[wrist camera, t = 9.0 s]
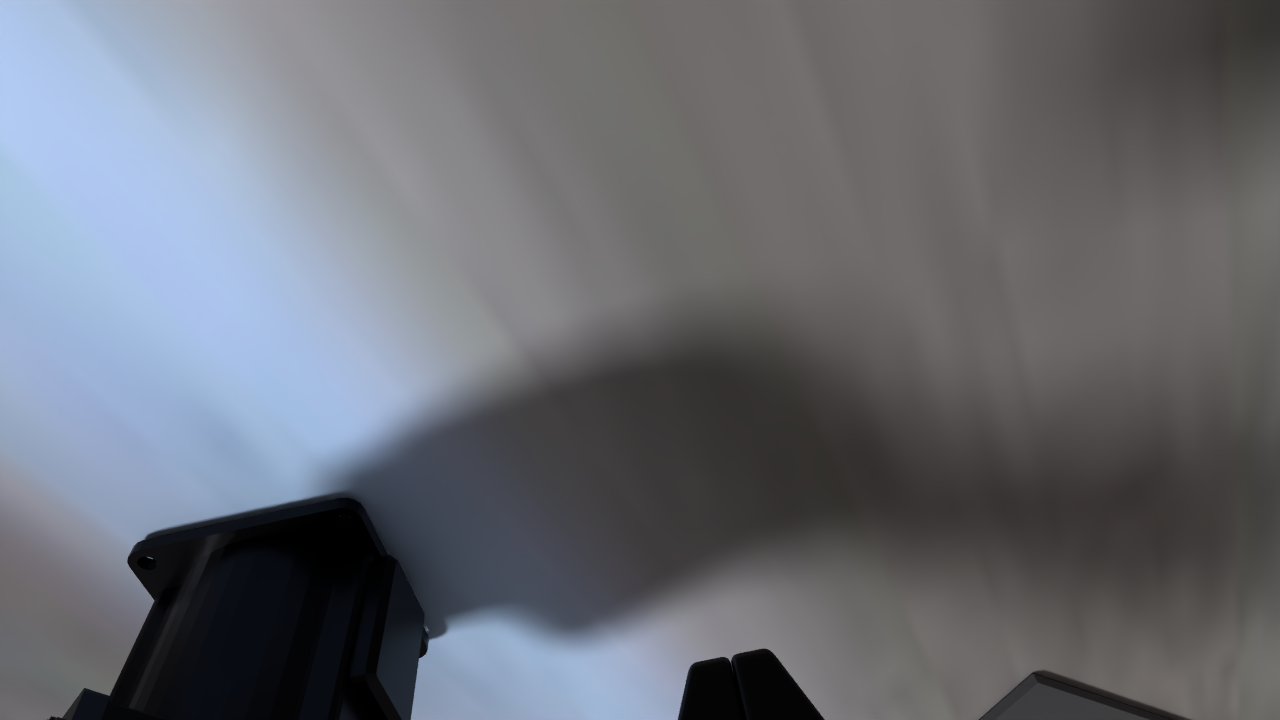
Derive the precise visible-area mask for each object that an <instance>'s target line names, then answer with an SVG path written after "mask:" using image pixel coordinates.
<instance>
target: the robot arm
mask: <svg viewBox="0 0 1280 720" xmlns="http://www.w3.org/2000/svg"><path fill="white" fill-rule="evenodd" d="M339 515H347V516H350V517H351V518H343V517H340V516H339ZM147 557H150V558H153V559H150V558H147ZM127 562H128V565H129V567H130V568H131V570H132V571H133V572H134V574H135V575H136V576H137V578H138V579H139V580H140V582H141V583H142V584H143V586H144V587H145V588H146V590H147V591H148V592H149V594H150V595H151V596H152V598H153V599H154V600H155V601H154V603H153V605H152V607H151V609H150V612H149V614H148V616H147V618H146V620H145V622H144V624H143V626H142V629H141V631H140V633H139V635H138V637H137V639H136V641H135V643H134V645H133V648H132V650H131V652H130V654H129V656H128V658H127V660H126V662H125V664H124V667H123V669H122V671H121V673H120V675H119V677H118V679H117V681H116V683H115V686H114V688H113V690H112V692H111V694H110V696H108V695H105V694H102V693H99V692H95V691H92V690H89V689H86V688H84V689H83V690H82V692H81V693H80V694H79V696H78V697H77V699H76V700H75V701H74V703H73V704H72V705H71V707H70V708H69V709H68V711H67V712H66V714H65V715H64V716H63V718H59V717H57V718H56V717H52V716H51V717H50V719H49V720H411V713H412V705H413V698H414V690H415V683H416V676H417V668H418V661H419V658H421V657H423V656H424V655H425V654H426V652H427V650H428V642H429V638H428V634H427V632H426V630H425V628H424V626H423V624H424V612H423V610H422V608H421V606H420V604H419V602H418V600H417V598H416V596H415V594H414V592H413V590H412V588H411V586H410V584H409V582H408V580H407V578H406V576H405V574H404V572H403V570H402V568H401V566H400V564H399V562H398V560H396V559H395V558H394V557H392V556H391V555H388V554H387V552H386V550H385V548H384V546H383V545H382V543H381V541H380V539H379V537H378V535H377V533H376V531H375V529H374V527H373V525H372V523H371V521H370V519H369V517H368V515H367V513H366V511H365V509H364V507H363V506H362V505H361V503H359V502H358V501H356V500H354V499H350V498H339V499H334V500H329V501H325V502H320V503H315V504H310V505H306V506H301V507H296V508H292V509H287V510H282V511H278V512H273V513H268V514H264V515H259V516H254V517H249V518H245V519H240V520H235V521H231V522H226V523H221V524H217V525H212V526H207V527H202V528H198V529H193V530H188V531H184V532H179V533H174V534H170V535H165V536H160V537H155V538H151V539H146V540H142V541H140V542H138V543H137V544H136V545H135V546H134V547H133V549H132V551H131V553H130V555H129V557H128V561H127ZM731 664H732V666H731ZM678 720H824V718H823V717H822V716H821V714H820V713H819V712H818V710H817V709H816V708H815V707H814V705H813V704H812V703H811V701H810V700H809V699H808V697H807V696H806V695H805V694H804V692H803V691H802V690H801V688H800V687H799V686H798V684H797V683H796V682H795V681H794V679H793V678H792V677H791V675H790V674H789V673H788V671H787V670H786V669H785V668H784V666H783V665H782V664H781V662H780V661H779V660H778V658H777V657H776V656H775V655H774V654H773V653H772V652H771V651H770V650H768V649H758V650H754V651H749V652H744V653H739V654H736V655H734V656H733V657H732V660H731V663H730V661H729V659H728V658H725V657H719V658H715V659H710V660H705V661H700V662H696V663H694V664H692V665H691V667H690V669H689V671H688V675H687V680H686V684H685V689H684V694H683V698H682V703H681V707H680V712H679V717H678Z"/></svg>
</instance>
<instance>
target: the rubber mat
mask: <svg viewBox="0 0 1280 720" xmlns="http://www.w3.org/2000/svg"><path fill="white" fill-rule="evenodd" d="M980 720H1171V719H1168V718H1165V717H1162V716H1159V715H1156V714H1153V713H1150V712H1147V711H1144V710H1141V709H1138V708H1135V707H1132V706H1129V705H1126V704H1123V703H1120V702H1117V701H1114V700H1111V699H1108V698H1105V697H1102V696H1099V695H1096V694H1093V693H1090V692H1087V691H1084V690H1081V689H1078V688H1075V687H1072V686H1069V685H1066V684H1063V683H1060V682H1057V681H1054V680H1051V679H1048V678H1045V677H1042V676H1039V675H1036V674H1033V673H1032V674H1031V675H1030V676H1029V677H1028V678H1027V679H1026V680H1024V681H1023V682H1022V683H1021V684H1020V685H1019V686H1018V687H1016V688H1015V689H1014V690H1013V691H1012V692H1011V693H1010V694H1008V695H1007V696H1006V697H1005V698H1004V699H1003V700H1002V701H1000V702H999V703H998V704H997V705H996V706H995V707H994V708H992V709H991V710H990V711H989V712H988V713H987V714H986V715H984V716H983V717H982V718H981V719H980Z"/></svg>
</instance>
